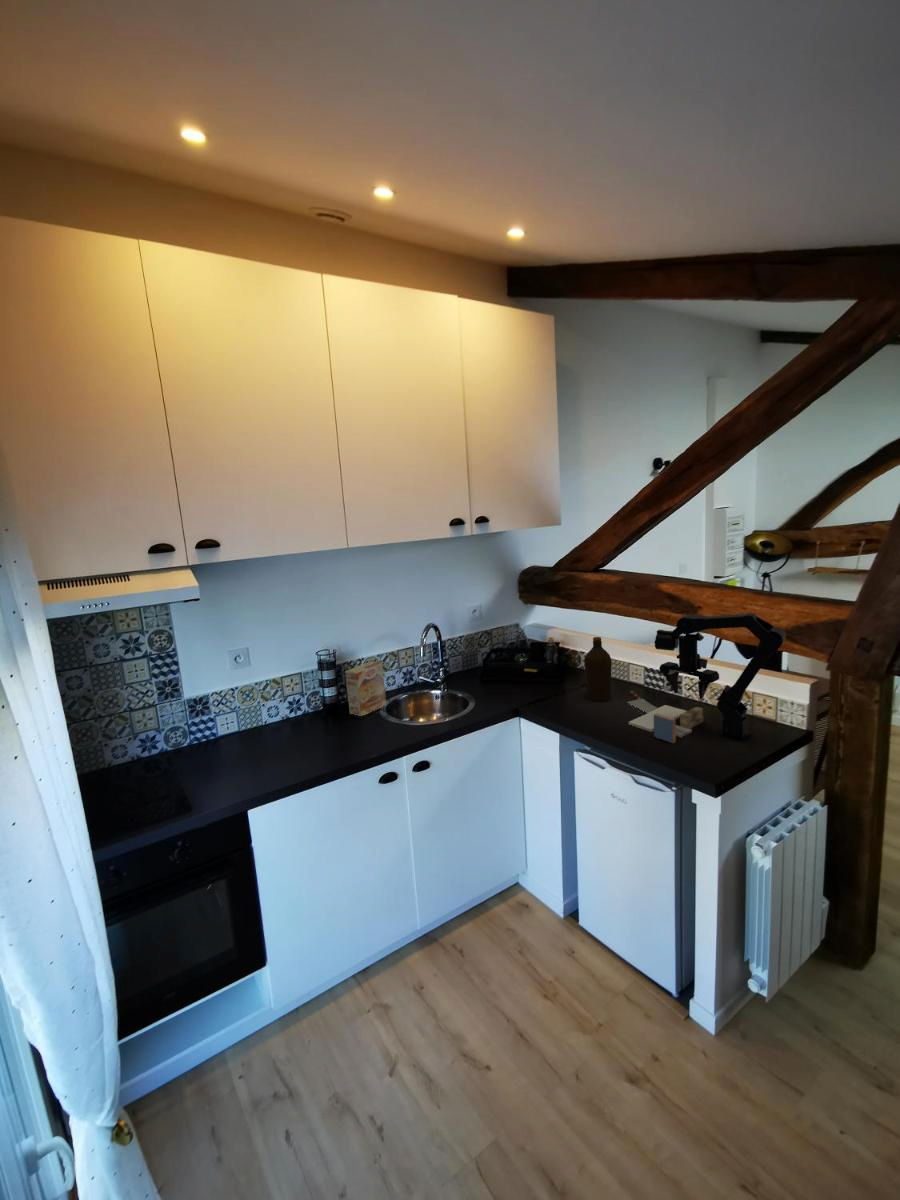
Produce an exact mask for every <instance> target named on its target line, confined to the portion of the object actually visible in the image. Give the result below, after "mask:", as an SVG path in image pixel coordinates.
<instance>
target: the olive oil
mask: <svg viewBox="0 0 900 1200" xmlns="http://www.w3.org/2000/svg"><path fill="white" fill-rule="evenodd" d="M602 642H603V641H602V637H601V636H594V637H593V638H592V648H590V650H589V651H588V652H587V653H586V654H585V657H584V663H583V664H584V672H585V673H584V674H585V676H584V677H585V689H586V695H587V700H588V701H591V700H592V702H595V701H596V702H598V703H601V702H608V701H610V700H611V699H612V672H613V671H612V669H613V667H612V665H613V664H612V663H613V660H612V658H611V657H612V656H611V655H610V653H609V652H607V650H606V649H604V648H603V646H602V645H603V643H602ZM596 702H595V703H596Z"/></svg>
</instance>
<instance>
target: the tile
mask: <svg viewBox="0 0 900 1200" xmlns="http://www.w3.org/2000/svg"><path fill="white" fill-rule="evenodd" d="M676 720H677V719H674V718H671V717H668V716H664V715H661V714H657V713H656V714H654V731H653V738H655V737H656V739H658V740H661V739H662V741H665V742H667V741H668V742H667V743H671V744H675V743H676V741H677V740H676V739H677V738H676V737H677V736H676V725H677V724H676V723H677V722H676Z"/></svg>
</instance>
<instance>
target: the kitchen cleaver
mask: <svg viewBox="0 0 900 1200" xmlns="http://www.w3.org/2000/svg"><path fill="white" fill-rule="evenodd" d="M628 694H629V696H630V695H631V696H632V697H633V698H634V700H630V701H626V702H627V703H629V704H630V705H631V706H632V705H633V706H634V707H635V708H636V707H637V708H639V709H640V710H642V711H643V712H644V711H645V712H646V713H649V712H651V711H653V710H655V709H658V708H659V707H657V706H654V705H652V704H651V703H649V702H648V701H647V700H645V699H644V698H643V697H641V696H640V695H639V694H638V692H637V693H636V692H635V691H634V690H630V691H628ZM627 703H626V704H627ZM629 704H628V705H629ZM630 705H629V706H630ZM631 706H630V707H631Z"/></svg>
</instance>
